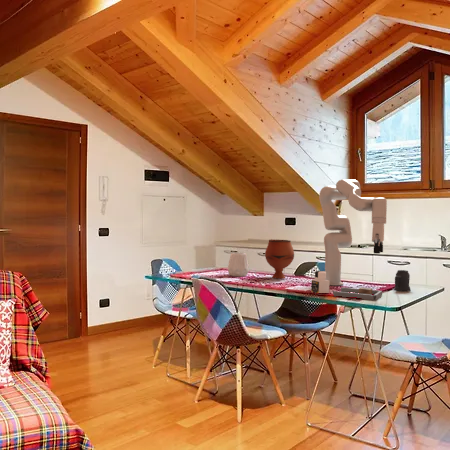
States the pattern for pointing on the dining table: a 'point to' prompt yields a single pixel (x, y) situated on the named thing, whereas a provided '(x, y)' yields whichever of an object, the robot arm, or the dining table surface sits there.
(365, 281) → the dining table surface
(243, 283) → the dining table surface
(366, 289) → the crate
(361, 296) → the tray
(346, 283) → the dining table surface
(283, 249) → the goblet
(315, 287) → the medicine bottle
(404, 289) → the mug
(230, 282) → the dining table surface
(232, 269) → the vase
